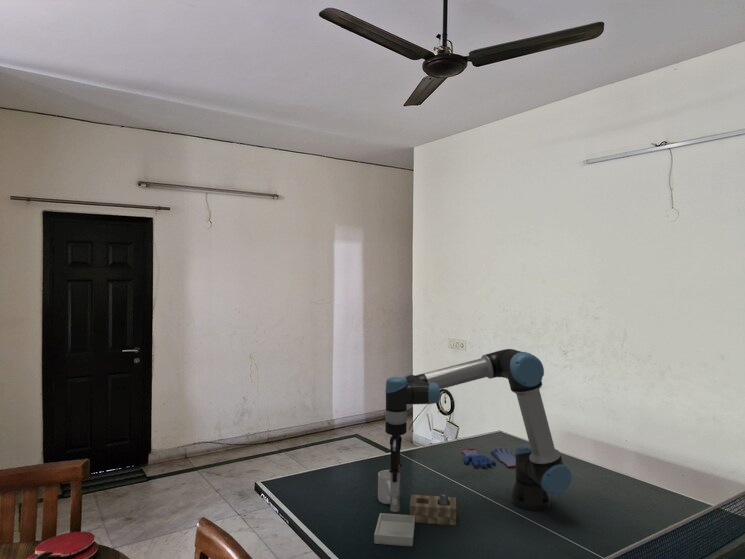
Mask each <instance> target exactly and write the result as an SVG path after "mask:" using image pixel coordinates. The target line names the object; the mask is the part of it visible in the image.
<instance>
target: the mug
mask: <svg viewBox="0 0 745 559" xmlns="http://www.w3.org/2000/svg"><path fill="white" fill-rule="evenodd" d="M389 470H390V469H385V470H380V471H379V472H378V473H377V499H378V501H379V503H382V504H384V505H390V477H391V472H389Z"/></svg>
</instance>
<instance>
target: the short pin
mask: <svg viewBox="0 0 745 559" xmlns="http://www.w3.org/2000/svg"><path fill="white" fill-rule="evenodd" d="M438 496H439V505H448V497H449V493H447V492H439V495H438Z"/></svg>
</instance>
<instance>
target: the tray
mask: <svg viewBox="0 0 745 559" xmlns="http://www.w3.org/2000/svg"><path fill="white" fill-rule="evenodd" d="M376 523H377V524H376V526H375V531H374V534H373V539H374V540H373V544H377V545H390V546H400V547H402V546H403V547H412V546H414V538H415V536H414V535H415V527H416V523H415V516H413V515H410V514H397V513H383V512H382V513H381V512H380V513H379V516H378V519H377V522H376Z"/></svg>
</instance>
